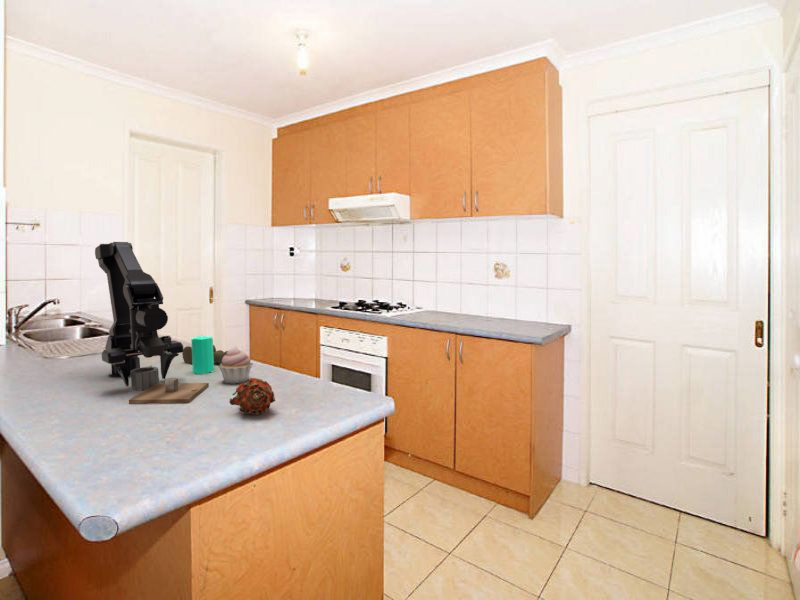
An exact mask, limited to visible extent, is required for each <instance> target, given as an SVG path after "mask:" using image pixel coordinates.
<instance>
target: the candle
mask: <svg viewBox="0 0 800 600" xmlns="http://www.w3.org/2000/svg"><path fill="white" fill-rule="evenodd" d="M213 345H214V339H213V337H212V336H204V335H201V336H196V337H192V338H191V347H192V364H191V365H192V373H193V374H194V373H196V375H204V373H206V374H210V373H209V372H211V373H213V372H215V365H214V363H215V362H214V357H213ZM212 371H213V372H212Z"/></svg>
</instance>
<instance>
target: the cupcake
mask: <svg viewBox="0 0 800 600" xmlns="http://www.w3.org/2000/svg"><path fill="white" fill-rule="evenodd" d="M227 351H228V352H227V354H226V355H225V356H224V357H223V358H222V364H221V363H219V365H218V369H219V370H220V371H221V374H222V378H223V381H224V383H225V384H231V385H236V383H238V384H243V383H246V382H248V381H249V377H250V372H251V369H252V367H253V365H254V363H253V362H251V358H250V356H248V354H247V353H246V352H245V351H243V350H239V348H238V346H233V347H231V348H230V349H228V350H227Z"/></svg>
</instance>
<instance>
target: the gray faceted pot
mask: <svg viewBox="0 0 800 600" xmlns="http://www.w3.org/2000/svg"><path fill="white" fill-rule="evenodd" d="M130 372H131V376H130V384H131V385H130V387H132V388H131V389H132V390H136V389H142V390H146V389H147V388H149V387H151V386H152V385H154V384H156V383H160V380H159V379H160V377H159V376H160V375H159V367H157V366H153V365H152V364H149V365H147V366H144V367H140V368H137V369H133V370H131V371H130Z"/></svg>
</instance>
